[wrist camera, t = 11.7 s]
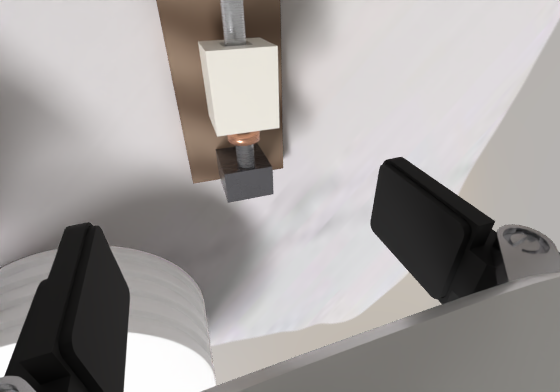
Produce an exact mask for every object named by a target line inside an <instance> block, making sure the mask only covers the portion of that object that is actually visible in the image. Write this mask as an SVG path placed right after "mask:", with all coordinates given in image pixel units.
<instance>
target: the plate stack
mask: <svg viewBox="0 0 560 392" xmlns="http://www.w3.org/2000/svg"><path fill="white" fill-rule="evenodd" d="M109 247H110V249H111V251H112V253H113V255H114V257H115V259H116V262H117V264H118V266H119V268H120V270H121V272H122V274H123V276H124V279H125V281H126V283H127V285H128V287H129V292H130V306H129V321H128V336H127V350H126V365H125V380H124V392H201V391H203V390H206V389H209V388H211V387H214V386H216V379H215V372H214V366H213V358H212V351H211V346H210V337H209V331H208V324H207V317H206V310H205V303H204V298H203V295H202V292H201V290H200V288H199V286H198V285H197V283H196V282H195V281H194V280H193V278H192V277H191V276H190V275H189V274H188V273H186V272H185V271H184V270H183V269H181V268H180V267H178V266H177V265H175V264H174V263H172V262H170V261H168V260H166V259H164V258H162V257H159V256H157V255H154V254H151V253H148V252H144V251H140V250H136V249H131V248H125V247H117V246H109ZM57 250H58V249H54V250H49V251H45V252H41V253H37V254H34V255H30V256H28V257H25V258H22V259H19V260H17V261H15V262H12V263H10V264H8V265H6V266H4V267H2V268H0V378H1V377H4V375H5V373H6V370H7V367H8V365H9V362H10V359H11V357H12V354H13V351H14V349H15V346H16V343H17V341H18V338H19V335H20V333H21V330H22V327H23V325H24V322H25V319H26V317H27V314H28V311H29V309H30V306H31V303H32V301H33V298H34V295H35V293H36V290H37V287H38V286H39V284H40V282H41V281H43V280H45V279H48V276H49V273H50V270H51V267H52V265H53V262H54V259H55V256H56V253H57Z"/></svg>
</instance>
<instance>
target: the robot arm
mask: <svg viewBox="0 0 560 392" xmlns="http://www.w3.org/2000/svg"><path fill="white" fill-rule="evenodd" d="M494 223H495V221H494V220H492V219H491V218H490V217H488V216H487V215H485V214H484V213H482V212H481V211H479V210H478V209H477V208H475V207H474V206H472V205H471V204H469V203H468V202H466V201H465V200H463V199H462V198H461V197H459V196H458V195H456V194H455V193H453V192H452V191H451V190H449V189H448V188H446V187H445V186H443V185H442V184H440V183H439V182H438V181H436V180H435V179H433V178H432V177H430V176H429V175H427V174H426V173H425V172H423V171H422V170H420V169H419V168H417V167H416V166H414V165H413V164H412V163H410V162H409V161H407V160H406V159H404V158H402V157H397V158H393V159H388V160H385V161H384V163H383V165H381V166H380V169H379V174H378V180H377V186H376V192H375V198H374V204H373V210H372V216H371V223H370V224H371V228H372V230H373V232H374V233H375V234H376V235H377V236H378V237H379V239H380V240H381V241H382V242H383V243H384V244H385V245H386V246H387V248H388V249H389V250H390V251H391V252H392V253H393V254H394V255H395V256H396V258H397V259H398V260H399V261H400V262H401V263H402V264H403V265H404V267H405V268H406V269H407V270H408V271H409V272H410V273H411V274H412V275H413V276H414V278H415V279H416V280H417V281H418V282H419V283H420V284H421V286H422V287H423V288H424V289H425V290H426V291H427V292H428V293H429V295H430V296H431V297H433V298H434V299H438V300H439V301H440V303H441V304H442V305H439V306H436V307H433V308H431V309H428V310H425V311H422V312H419V313H416V314H414V315H411V316H408V317H405V318H402V319H400V320H397V321H394V322H391V323H388V324H385V325H383V326H380V327H377V328H374V329H372V330H369V331H366V332H363V333H360V334H358V335H355V336H352V337H349V338H346V339H344V340H341V341H338V342H335V343H332V344H330V345H327V346H324V347H321V348H319V349H316V350H313V351H310V352H308V353H305V354H302V355H299V356H297V357H294V358H291V359H288V360H286V361H283V362H280V363H277V364H275V365H272V366H269V367H266V368H264V369H261V370H258V371H256V372H253V373H250V374H247V375H245V376H242V377H239V378H237V379H233V380H231V381H228V382H226V383H222V384H220V385H217V386H214V387H211V388H209V389H206V390H203V391H201V392H560V253H559V252H558V250H557V248H556V246H555V244H554V243H553V241H552V240H550V239H549V238H548V237H547V236H546V235H544V234H542V233H541V232H539V231H537V230H534V229H532V228H529V227H525V226H521V225H513V224H512V225H504V226H502V227H500V228H499V229H498V230H497V232H495V231H494V230H492V227H493V225H494ZM129 306H130V292H129V287H128V285H127V283H126V281H125V279H124V276H123V274H122V272H121V270H120V268H119V266H118V264H117V262H116V259H115V257H114V255H113V253H112V251H111V249H110V247H109V245H108V242H107V240H106V238H105V236H104V234H103V232H102V230H101V228H100V227H99V226H93V225H92V224H91V223H89V222H88V223H83V224H78V225H73V226H69V227H66V229H65V230H64V233H63V236H62V239H61V242H60V245H59V248H58V250H57V253H56V256H55V259H54V262H53V265H52V267H51V270H50V273H49V276H48V279H45V280H43V281H41V282H40V284H39V286H38V287H37V290H36V293H35V295H34V298H33V301H32V303H31V306H30V309H29V311H28V314H27V317H26V319H25V322H24V325H23V327H22V330H21V333H20V335H19V338H18V341H17V343H16V346H15V349H14V351H13V354H12V357H11V359H10V362H9V365H8V367H7V370H6V373H5V375H4V377H1V378H0V392H124V380H125V365H126V350H127V336H128V321H129Z"/></svg>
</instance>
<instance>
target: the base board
mask: <svg viewBox="0 0 560 392" xmlns="http://www.w3.org/2000/svg"><path fill="white" fill-rule="evenodd" d="M156 1H157V6H158V11H159V16H160V21H161V26H162V31H163V36H164V41H165V46H166V51H167V56H168V61H169V66H170V70H171V75H172V80H173V85H174V90H175V95H176V100H177V105H178V110H179V115H180V120H181V125H182V130H183V135H184V140H185V145H186V150H187V155H188V159H189V164H190V169H191V174H192V179H193V184H194V183H200V182H205V181H211V180H217V179H220V176H219V170H218V163H217V157H216V150H215V149H221V148H228V147H235V145H232V144H230V143H229V142H228V137H227V135H225V136H218V137H217V135H216V132H215V130H214V127H213V125H212V122H211V120H210V117H209V113H208V106H207V99H206V93H205V86H204V79H203V72H202V66H201V59H200V52H199V46H198V41H211V40H224V34H223V25H222V16H221V6H220V0H156ZM243 5H244V19H245V33H246V38H258V37H260V38H262V39H264V40H266V41H268V42H270V43H272V44H274V45H277V46H278V82H279V128H275V129H268V130H261V131H260V140H259V141H258V142H257V143H258V145H259V147H260V148H261V150H262V151H263V153H264V154H265V156H266V157H267V159H268V161H269V162H270V164H271V165H272V170H275V169H281V168H283V135H282V74H281V14H280V0H243Z"/></svg>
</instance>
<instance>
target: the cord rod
mask: <svg viewBox="0 0 560 392" xmlns="http://www.w3.org/2000/svg"><path fill="white" fill-rule="evenodd" d="M220 6H221V16H222V25H223V34H224V44H225V47H226V46H241V45H246V33H245V19H244V5H243V0H220ZM227 137H228V142H229V143H230V144H232V145H235V147H228V148H221V149H215V150H216V157H217V163H218V170H219V176H220V179H221V182H222V185H223V188H224V191H225V194H226V197H227V201H228V203H229V202H234V201H239V200H245V199H250V198H255V197H260V196H265V195H271V194H273V171H272V165H271V164H270V162H269V161H268V159H267V157H266V156H265V154H264V153H263V151H262V150H261V148H260V147H259V145H258V143H257V142H258V141H259V140H260V131H254V132H247V133H240V134H232V135H227Z"/></svg>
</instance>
